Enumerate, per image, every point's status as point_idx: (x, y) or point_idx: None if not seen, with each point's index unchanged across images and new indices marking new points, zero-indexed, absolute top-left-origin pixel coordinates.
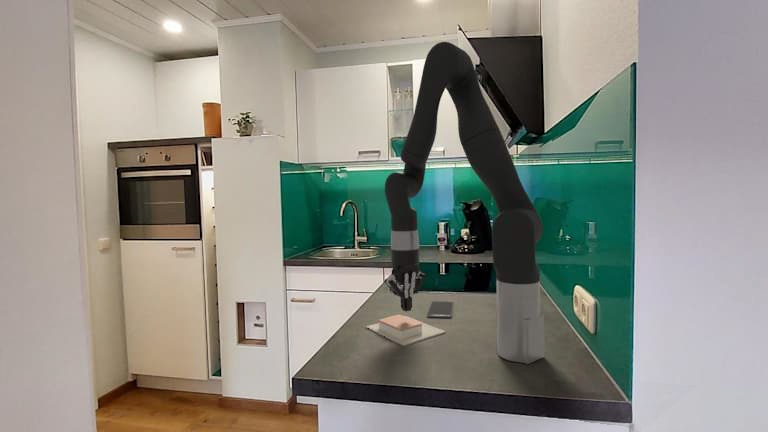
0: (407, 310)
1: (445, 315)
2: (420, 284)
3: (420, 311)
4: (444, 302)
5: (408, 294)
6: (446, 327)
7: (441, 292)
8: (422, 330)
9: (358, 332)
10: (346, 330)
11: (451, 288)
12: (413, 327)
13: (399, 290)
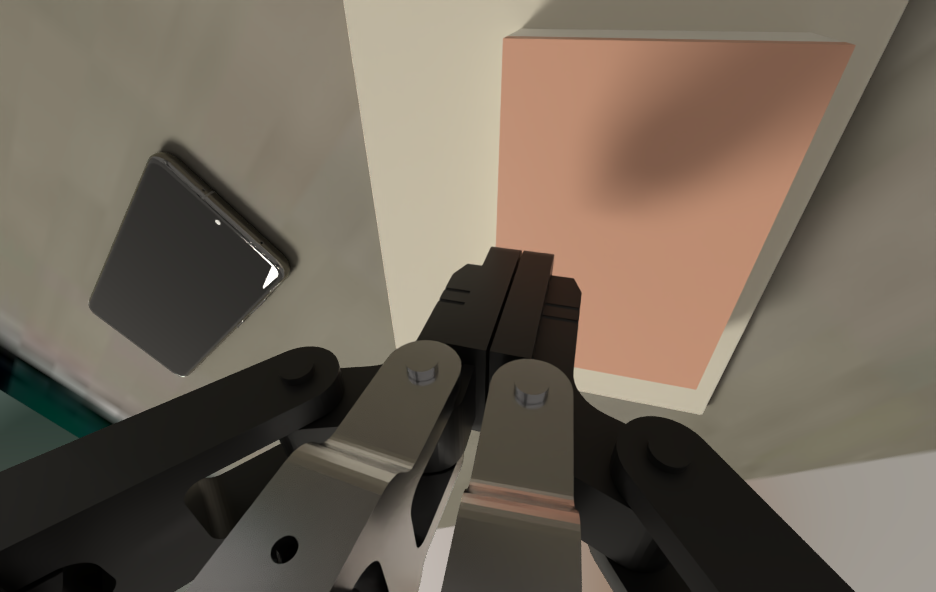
0: (547, 253)
1: (184, 183)
2: (125, 444)
3: (285, 345)
4: (129, 330)
5: (461, 401)
6: (264, 14)
7: (112, 408)
8: (480, 77)
9: (811, 397)
10: (819, 458)
11: (62, 405)
12: (634, 39)
13: (731, 575)
